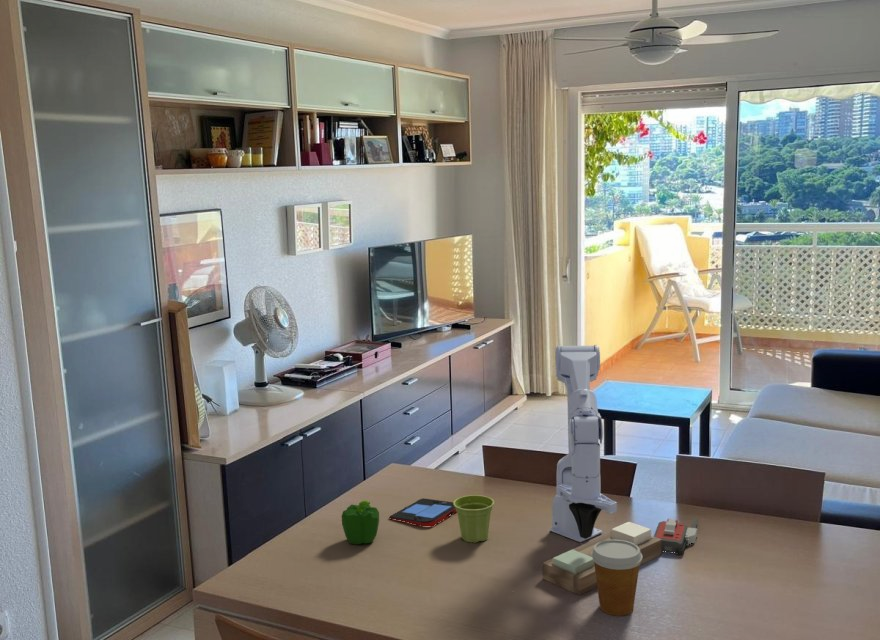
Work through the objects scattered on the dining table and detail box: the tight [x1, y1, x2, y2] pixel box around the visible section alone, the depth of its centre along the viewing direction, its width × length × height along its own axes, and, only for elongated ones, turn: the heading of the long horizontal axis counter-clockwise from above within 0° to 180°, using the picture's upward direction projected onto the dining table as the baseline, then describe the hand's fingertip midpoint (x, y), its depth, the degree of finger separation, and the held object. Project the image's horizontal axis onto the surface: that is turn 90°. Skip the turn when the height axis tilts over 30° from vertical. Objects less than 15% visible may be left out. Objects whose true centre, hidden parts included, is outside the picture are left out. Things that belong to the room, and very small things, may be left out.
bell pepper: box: [341, 500, 380, 545], centre depth 198 cm, size 8×8×10 cm
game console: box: [389, 498, 457, 527], centre depth 214 cm, size 14×13×2 cm
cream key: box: [611, 521, 652, 545], centre depth 188 cm, size 6×6×3 cm
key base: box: [541, 531, 662, 596], centre depth 182 cm, size 10×27×4 cm, turn 131°
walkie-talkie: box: [653, 517, 699, 555], centre depth 195 cm, size 9×4×20 cm
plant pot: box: [452, 494, 495, 544], centre depth 198 cm, size 9×9×9 cm
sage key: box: [552, 548, 595, 575], centre depth 176 cm, size 6×6×3 cm
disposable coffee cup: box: [591, 540, 643, 617], centre depth 164 cm, size 10×10×12 cm
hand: (585, 536), depth 177 cm, fingers closed
